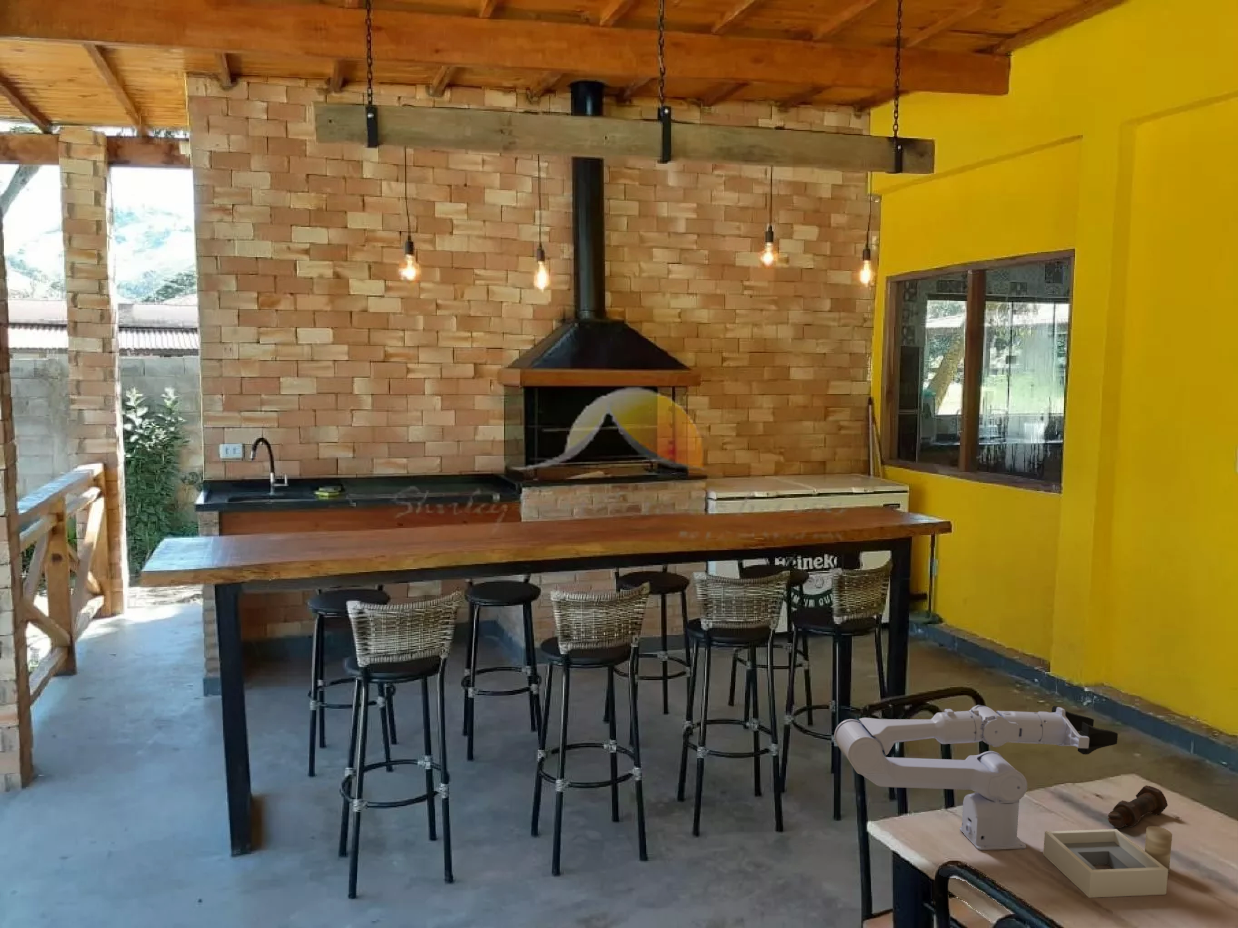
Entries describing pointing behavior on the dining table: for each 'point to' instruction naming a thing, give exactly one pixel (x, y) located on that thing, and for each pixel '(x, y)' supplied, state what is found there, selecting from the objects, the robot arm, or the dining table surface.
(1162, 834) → the peg
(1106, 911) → the dining table surface
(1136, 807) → the bolt
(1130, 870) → the box
